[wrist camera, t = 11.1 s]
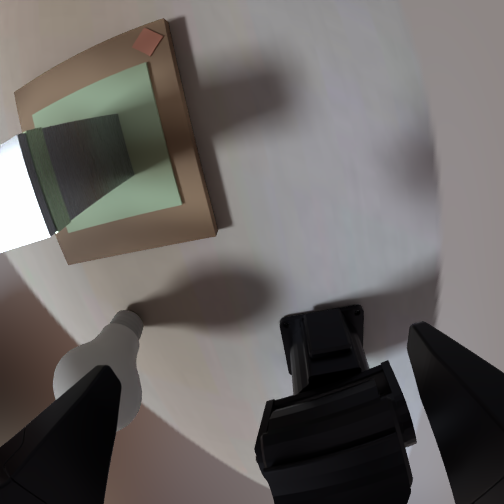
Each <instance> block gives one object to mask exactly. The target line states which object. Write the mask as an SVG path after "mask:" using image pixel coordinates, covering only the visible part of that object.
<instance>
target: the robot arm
mask: <svg viewBox="0 0 504 504" xmlns="http://www.w3.org/2000/svg"><path fill="white" fill-rule="evenodd" d="M357 310H359V311H358V312H355V311H357ZM363 321H364V311H363V308H362V306H361V305H352V306H347V307H342V308H336V309H331V310H325V311H320V312H314V313H308V314H302V315H296V316H289V317H284V318H282V319H281V320H280V330H281V335H282V340H283V345H284V350H285V355H286V360H287V365H288V370H289V374H290V375H292V383H293V395H292V396H289V397H285V398H282V399H278V400H274V399H273V400H269V401H267V402H266V405H265V409H264V413H263V417H262V421H261V425H260V428H259V432H258V436H257V440H256V444H255V453H256V461H257V463H258V465H259V468H260V470H261V472H262V475H263V476H264V478H265V479H266V480H267V481H268V484H269V486H270V489H271V492H272V495H273V499H274V504H407V503H408V500H409V497H410V494H411V488H410V487H411V485H412V481H413V477H412V473H411V469H410V465H409V461H408V457H407V453H406V449H405V447H409V446H411V445H414V444H416V443H417V441H416V435H415V431H414V427H413V423H412V419H411V416H410V413H409V410H408V407H407V404H406V401H405V398H404V396H403V393H402V391H401V388H400V386H399V384H398V381H397V379H396V377H395V375H394V372H393V370H392V368H391V366H390V363H389V361H388V360H387V361H385V362H382V363H381V365H378V366H376V367H373V368H371V369H369V365H368V362H367V359H366V356H365V353H364V350H363ZM284 323H289V324H287V325H285V324H284ZM407 351H408V355H409V358H410V362H411V365H412V369H413V372H414V376H415V380H416V383H417V387H418V391H419V395H420V398H421V401H422V404H423V406H424V409H425V411H426V414H427V417H428V419H429V422H430V425H431V428H432V430H433V433H434V436H435V439H436V442H437V445H438V448H439V451H440V454H441V457H442V460H443V463H444V466H445V469H446V472H447V476H448V479H449V482H450V486H451V489H452V492H453V496H454V500H455V503H456V504H504V373H503V372H502V371H500V370H499V369H497V368H496V367H494V366H493V365H491V364H490V363H488V362H487V361H485V360H483V359H482V358H480V357H479V356H477V355H476V354H475V353H473V352H471V351H470V350H468V349H467V348H465V347H464V346H462V345H461V344H459V343H458V342H456V341H455V340H453V339H451V338H450V337H448V336H447V335H445V334H444V333H442V332H441V331H439V330H437V329H436V328H434V327H433V326H431V325H430V324H428V323H426V322H424V321H422V322H418V323H414V324H412V325H411V326H410V329H409V336H408V343H407ZM121 390H122V385H121V382H120V380H119V379H118V377H117V376H116V374H115V373H114V371H113V370H112V368H111V367H110V366H109V365H97V366H95V367H94V368H93V369H92V370H90V371H89V372H88V373H87V374H86V375H85V376H83V377H82V378H81V379H80V380H79V381H78V382H76V383H75V384H74V385H73V386H72V387H71V388H69V389H68V390H67V391H66V392H65V393H64V394H62V395H61V396H60V397H59V398H58V399H57V400H55V401H54V402H53V403H52V404H51V405H50V406H49V407H47V408H46V409H45V410H44V411H43V412H41V413H40V414H39V415H38V416H37V417H36V418H35V419H33V420H32V421H31V422H30V423H29V424H28V425H26V427H24V428H23V429H22V430H21V431H20V432H18V433H17V434H16V435H15V436H14V437H12V438H11V439H10V440H9V441H8V442H6V443H5V444H4V445H2V446H1V447H0V504H104V498H105V491H106V485H107V479H108V472H109V467H110V462H111V456H112V451H113V446H114V441H115V436H116V431H117V424H118V415H119V406H120V398H121Z"/></svg>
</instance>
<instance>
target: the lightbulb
mask: <svg viewBox="0 0 504 504" xmlns="http://www.w3.org/2000/svg"><path fill="white" fill-rule="evenodd" d="M142 330H143V322H142V320H141V319H140V317H139V316H138V315H137V314H135V313H134V312H131V311H128V310H123V311H119V312H118V313H117V314H116V315H115V316H114V318H113V319H112V321H111V322H110V324H108V325H107V326H105V327H104V328H103V330H102V331H101V333H100V334H99V335H98V336H97V337H96V338H95V339H94V340H92V341H91V342H88V343H85V344H82V345H80V346H78V347H76V348H74V349H72V350H70V351H69V352H68V353H67V354H66V355H65V356H63V357H62V359H61V360H60V362H59V363H58V365H57V367H56V370H55V373H54V379H53V389H54V395H55V398H56V400H57V399H58V398H59V397H60V396H61V395H62V394H64V393H65V392H66V391H67V390H68V389H69V388H71V387H72V386H73V385H74V384H75V383H76V382H78V381H79V380H80V379H81V378H82V377H83V376H85V375H86V374H87V373H88V372H89V371H90V370H92V369H93V368H94V367H95V366H97V365H109V366H110V367H111V368H112V370H113V371H114V373H115V374H116V376H117V377H118V379H119V380H120V382H121V385H122V390H121V398H120V406H119V415H118V424H117V431H119V430H121V429H122V428H124V427H126V426H127V425H129V424H130V422H131V421H132V420H133V419H134V418H135V416H136V415H137V413H138V411H139V408H140V405H141V401H142V389H141V383H140V378H139V374H138V371H137V368H136V358H137V353H138V350H139V339H140V337H141V334H142Z"/></svg>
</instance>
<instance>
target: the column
mask: <svg viewBox="0 0 504 504" xmlns="http://www.w3.org/2000/svg"><path fill="white" fill-rule="evenodd" d="M133 176H134V171H133V168H132V164H131V161H130V157H129V154H128V150H127V147H126V143H125V139H124V136H123V132H122V128H121V124H120V120H119V116H118V114H111V115H105V116H99V117H93V118H87V119H82V120H77V121H72V122H67V123H62V124H58V125H53V126H49V127H45V128H42V127H39V128H35V129H31V130H27V131H25V132H23V133H21V134H18V135H16V136H14V137H13V138H11V139H10V140H8V141H6V142H5V143H3V144H2V145H0V253H1V252H4V251H7V250H10V249H13V248H17V247H20V246H23V245H26V244H29V243H32V242H35V241H39V240H42V239H45V238H49V237H51V236H52V235H53V234H55V233H58V232H60V231H61V230H62V229H63V228H65V227H66V226H67V225H68V224H70V223H71V220H72V219H74V218H75V217H76V216H78V215H79V214H80V213H82V212H83V211H84V210H86V209H87V208H88V207H90V206H91V205H92V204H94V203H95V202H96V201H98V200H99V199H101V198H102V197H103V196H105V195H106V194H108V193H109V192H111V191H112V190H113V189H115V188H116V187H118V186H119V185H121V184H122V183H124V182H125V181H127V180H128V179H130V178H131V177H133Z"/></svg>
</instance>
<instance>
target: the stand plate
mask: <svg viewBox="0 0 504 504" xmlns="http://www.w3.org/2000/svg"><path fill="white" fill-rule="evenodd" d="M14 95H15V100H16V105H17V110H18V115H19V120H20V124H21V129H22V133H23V132H25V131H27V130H31V129H35V128H39V127H42V128H45V127H49V126H53V125H58V124H62V123H67V122H72V121H77V120H82V119H87V118H93V117H99V116H105V115H111V114H118V116H119V120H120V124H121V128H122V132H123V136H124V139H125V143H126V147H127V150H128V154H129V157H130V161H131V164H132V168H133V171H134V176H133V177H131V178H130V179H128V180H127V181H125V182H124V183H122V184H121V185H119V186H118V187H116V188H115V189H113V190H112V191H111V192H109V193H108V194H106V195H105V196H103V197H102V198H101V199H99V200H98V201H96V202H95V203H94V204H92V205H91V206H90V207H88V208H87V209H86V210H84V211H83V212H82V213H80V214H79V215H78V216H76V217H75V218H74V219H72V220H71V223H70V224H68V225H67V226H66V227H65V228H63V229H62V230H61V231H60V232H58V233H55V235H56V238H57V240H58V242H59V245H60V247H61V250H62V252H63V254H64V257H65V259H66V261H67V263H68V265H71V264H76V263H81V262H86V261H91V260H96V259H101V258H106V257H110V256H115V255H120V254H126V253H131V252H136V251H141V250H146V249H151V248H156V247H161V246H167V245H172V244H177V243H183V242H188V241H193V240H199V239H204V238H209V237H215V236H216V235H217V232H218V228H217V224H216V220H215V217H214V213H213V209H212V205H211V201H210V197H209V193H208V190H207V186H206V182H205V178H204V174H203V170H202V166H201V162H200V158H199V154H198V150H197V146H196V142H195V137H194V133H193V129H192V125H191V121H190V117H189V112H188V108H187V104H186V100H185V95H184V91H183V87H182V82H181V78H180V74H179V69H178V65H177V60H176V56H175V51H174V47H173V42H172V37H171V33H170V28H169V23H168V21H166V20H165V19H164V18H163V19H160V20H157V21H154V22H151V23H148V24H146V25H143V26H140V27H138V28H135V29H132V30H130V31H127V32H125V33H122V34H120V35H118V36H115V37H113V38H111V39H108V40H106V41H104V42H102V43H100V44H97V45H95V46H93V47H91V48H89V49H87V50H85V51H83V52H81V53H79V54H77V55H75V56H73V57H71V58H70V59H68V60H66V61H64V62H62V63H60V64H59V65H57V66H55V67H53V68H52V69H50V70H48V71H47V72H45V73H43V74H42V75H40V76H38V77H37V78H35V79H34V80H32V81H30V82H29V83H27V84H26V85H24V86H23V87H21V88H20V89H18V90H17V91H15V92H14Z"/></svg>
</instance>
